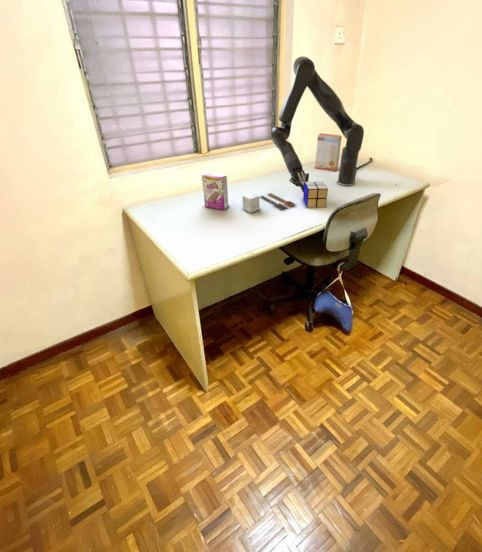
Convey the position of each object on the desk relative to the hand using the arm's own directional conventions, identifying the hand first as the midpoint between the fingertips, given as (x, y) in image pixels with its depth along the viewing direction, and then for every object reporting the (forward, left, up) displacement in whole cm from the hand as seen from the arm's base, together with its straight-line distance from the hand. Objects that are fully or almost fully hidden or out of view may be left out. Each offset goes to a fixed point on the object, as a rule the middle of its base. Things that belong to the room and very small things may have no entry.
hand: (306, 192), depth 174 cm
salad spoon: (+12, -6, -4) cm, 14 cm away
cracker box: (-45, -27, -4) cm, 53 cm away
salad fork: (+17, -6, -4) cm, 19 cm away
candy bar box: (+43, -20, -4) cm, 47 cm away
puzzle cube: (0, +7, -4) cm, 8 cm away
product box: (+31, -7, -4) cm, 32 cm away
